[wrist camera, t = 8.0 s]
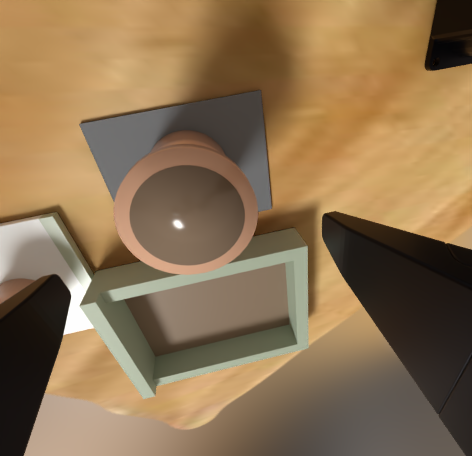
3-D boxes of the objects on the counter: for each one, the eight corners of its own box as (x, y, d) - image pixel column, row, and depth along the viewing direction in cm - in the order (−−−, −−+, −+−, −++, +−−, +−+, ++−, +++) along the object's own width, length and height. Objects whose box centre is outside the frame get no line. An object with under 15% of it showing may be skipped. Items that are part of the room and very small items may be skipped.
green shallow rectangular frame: (294, 227, 23) (312, 253, 20) (298, 325, 31) (312, 356, 27) (95, 271, 22) (79, 306, 19) (148, 362, 30) (143, 399, 26)
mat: (260, 90, 17) (261, 90, 17) (271, 207, 22) (271, 208, 22) (80, 123, 16) (79, 124, 16) (131, 237, 21) (130, 239, 21)
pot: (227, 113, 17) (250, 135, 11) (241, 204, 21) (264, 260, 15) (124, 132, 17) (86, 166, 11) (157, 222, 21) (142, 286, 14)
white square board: (56, 211, 19) (52, 216, 18) (119, 317, 25) (117, 322, 25) (-89, 241, 19) (-98, 247, 18) (12, 342, 25) (7, 348, 24)
